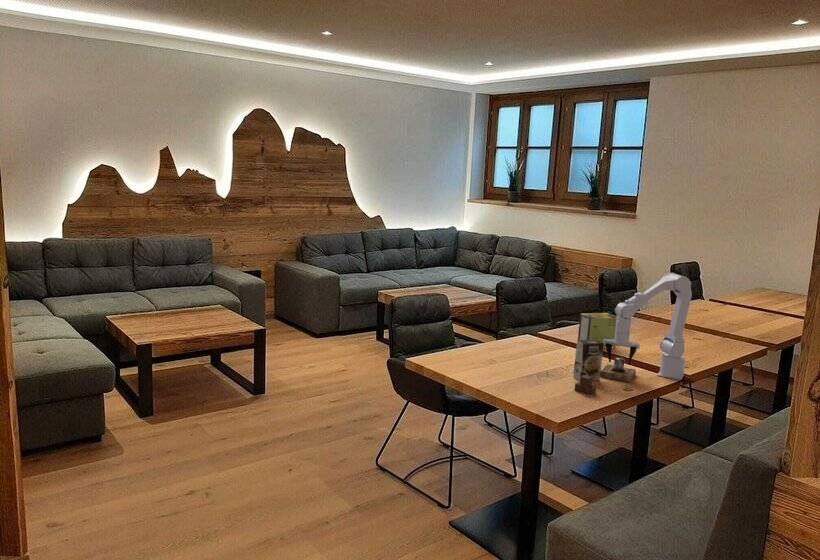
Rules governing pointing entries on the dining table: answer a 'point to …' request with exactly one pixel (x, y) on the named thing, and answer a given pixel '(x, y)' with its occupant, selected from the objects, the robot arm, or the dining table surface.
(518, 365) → the dining table surface
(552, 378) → the dining table surface
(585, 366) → the coffee box
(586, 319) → the protein box
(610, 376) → the socket block
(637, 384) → the dining table surface
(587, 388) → the stack of crates
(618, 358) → the pin
